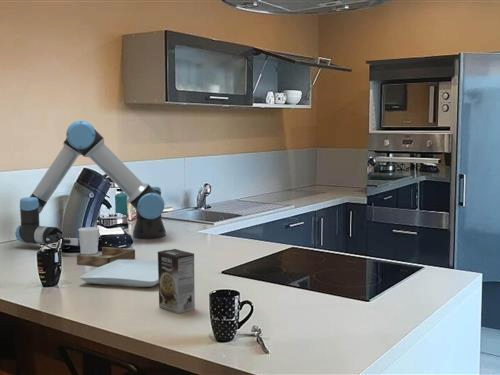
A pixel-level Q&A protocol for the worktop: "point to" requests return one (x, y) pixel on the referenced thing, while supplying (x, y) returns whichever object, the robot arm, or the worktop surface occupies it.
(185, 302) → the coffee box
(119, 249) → the caddy
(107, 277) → the square plate
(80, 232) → the white cup
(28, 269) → the worktop surface
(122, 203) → the green pump bottle
